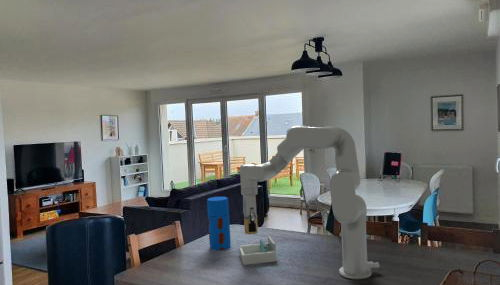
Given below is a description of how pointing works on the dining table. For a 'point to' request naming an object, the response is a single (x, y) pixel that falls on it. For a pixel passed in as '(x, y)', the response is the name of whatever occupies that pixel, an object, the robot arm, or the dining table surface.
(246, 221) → the amber jar
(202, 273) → the dining table surface
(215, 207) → the thermos
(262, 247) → the plate
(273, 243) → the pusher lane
